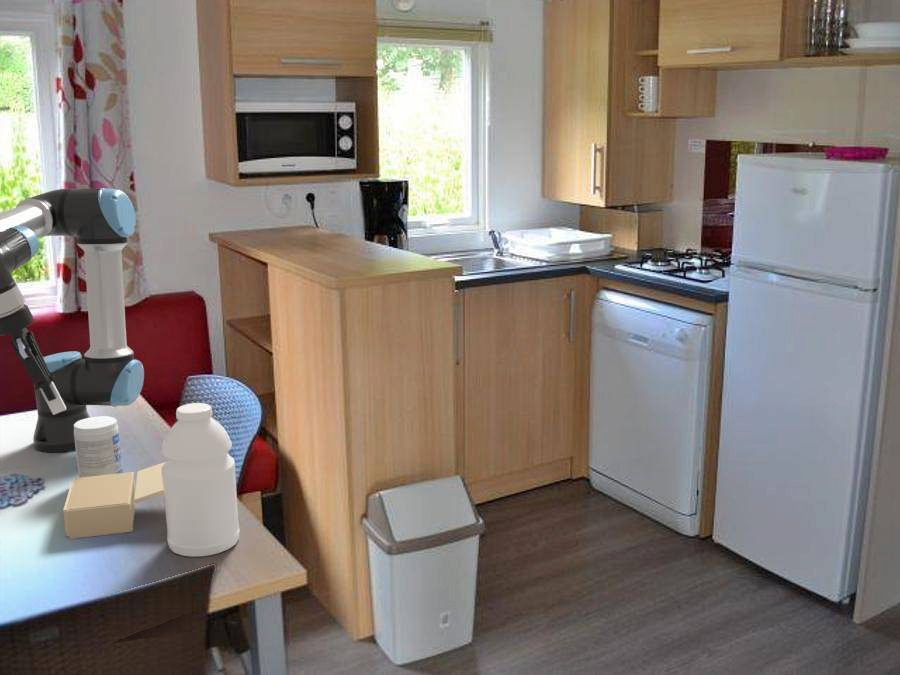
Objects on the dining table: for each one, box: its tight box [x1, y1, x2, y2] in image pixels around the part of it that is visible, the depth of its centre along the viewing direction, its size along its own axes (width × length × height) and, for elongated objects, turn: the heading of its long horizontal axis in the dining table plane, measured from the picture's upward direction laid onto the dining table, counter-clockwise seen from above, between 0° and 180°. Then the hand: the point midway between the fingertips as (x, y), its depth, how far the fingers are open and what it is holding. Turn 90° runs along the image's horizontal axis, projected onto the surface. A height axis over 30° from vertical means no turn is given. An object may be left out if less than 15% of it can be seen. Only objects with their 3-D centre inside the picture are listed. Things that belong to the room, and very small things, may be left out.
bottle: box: [161, 402, 241, 558], centre depth 184 cm, size 14×14×28 cm
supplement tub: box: [74, 415, 124, 478], centre depth 216 cm, size 10×10×15 cm
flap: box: [134, 461, 166, 503], centre depth 201 cm, size 16×1×12 cm
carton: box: [62, 471, 137, 540], centre depth 198 cm, size 18×13×6 cm
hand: (59, 411), depth 198 cm, fingers closed
